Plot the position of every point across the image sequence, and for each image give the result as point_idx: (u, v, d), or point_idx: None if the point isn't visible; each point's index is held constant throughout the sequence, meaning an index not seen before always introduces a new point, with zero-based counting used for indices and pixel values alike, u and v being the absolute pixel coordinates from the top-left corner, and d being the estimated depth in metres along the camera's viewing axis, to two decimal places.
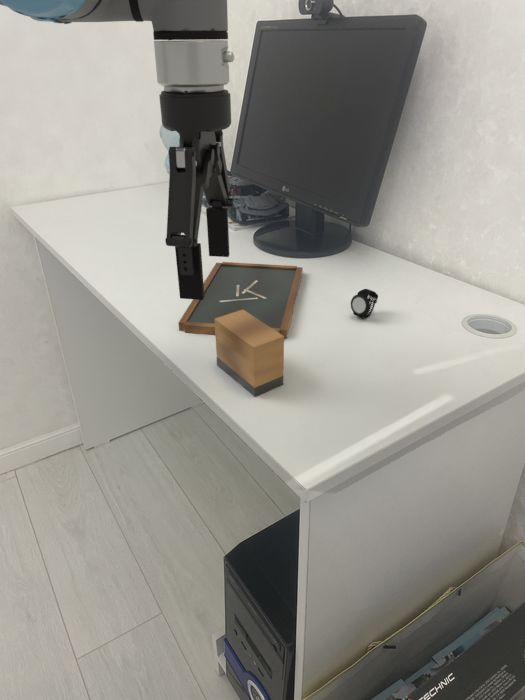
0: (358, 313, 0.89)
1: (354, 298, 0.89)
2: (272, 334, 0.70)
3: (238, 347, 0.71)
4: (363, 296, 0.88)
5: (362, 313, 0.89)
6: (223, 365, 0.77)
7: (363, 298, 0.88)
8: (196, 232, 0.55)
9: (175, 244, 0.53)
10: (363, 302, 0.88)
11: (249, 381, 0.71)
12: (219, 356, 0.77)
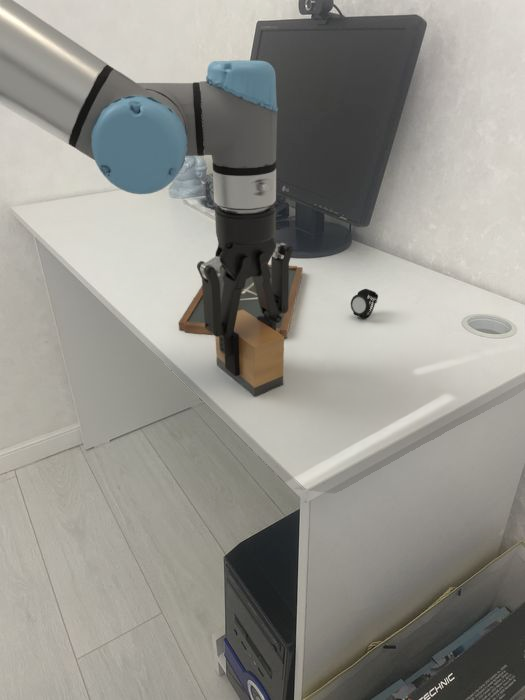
0: (358, 313, 0.89)
1: (354, 298, 0.89)
2: (272, 334, 0.70)
3: None
4: (363, 296, 0.88)
5: (362, 313, 0.89)
6: (223, 365, 0.77)
7: (363, 298, 0.88)
8: (230, 326, 0.68)
9: (208, 330, 0.68)
10: (363, 302, 0.88)
11: (249, 381, 0.71)
12: (219, 356, 0.77)
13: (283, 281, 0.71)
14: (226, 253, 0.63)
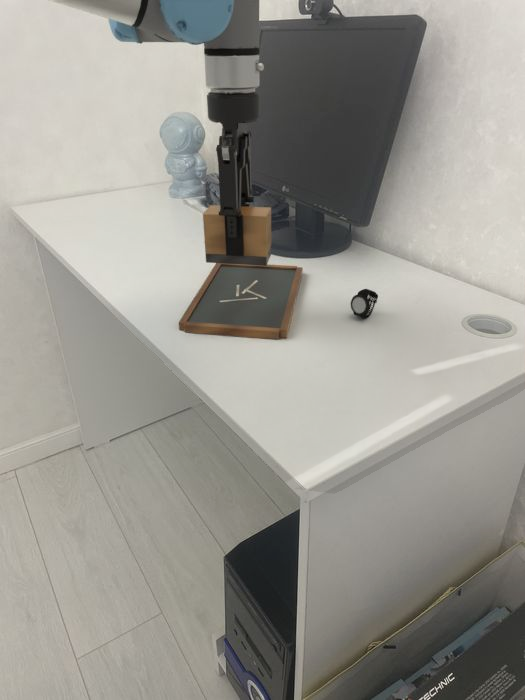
0: (358, 313, 0.89)
1: (354, 298, 0.89)
2: (262, 208, 0.82)
3: None
4: (363, 296, 0.88)
5: (362, 313, 0.89)
6: (217, 257, 0.83)
7: (363, 298, 0.88)
8: (239, 205, 0.77)
9: (226, 213, 0.76)
10: (363, 302, 0.88)
11: (258, 254, 0.82)
12: (210, 251, 0.83)
13: (249, 164, 0.82)
14: (236, 133, 0.72)
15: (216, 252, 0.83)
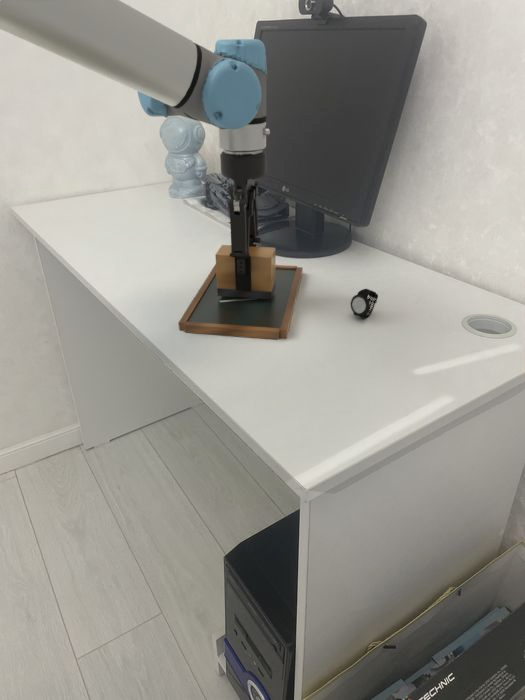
0: (358, 313, 0.89)
1: (354, 298, 0.89)
2: (267, 249, 0.93)
3: None
4: (363, 296, 0.88)
5: (362, 313, 0.89)
6: (227, 291, 0.94)
7: (363, 298, 0.88)
8: (248, 248, 0.88)
9: (237, 256, 0.86)
10: (363, 302, 0.88)
11: (264, 289, 0.93)
12: (221, 286, 0.94)
13: (256, 209, 0.93)
14: (245, 188, 0.83)
15: (227, 287, 0.94)
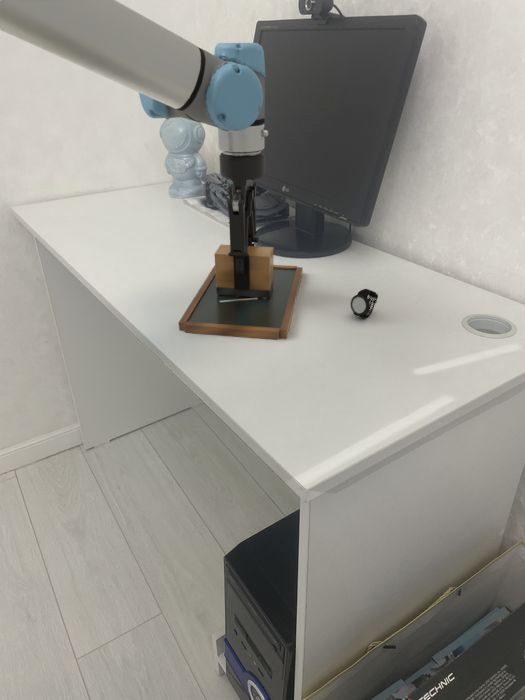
0: (358, 313, 0.89)
1: (354, 298, 0.89)
2: (265, 248, 0.94)
3: None
4: (363, 296, 0.88)
5: (362, 313, 0.89)
6: (226, 290, 0.96)
7: (363, 298, 0.88)
8: (246, 247, 0.90)
9: (235, 255, 0.88)
10: (363, 302, 0.88)
11: (262, 288, 0.94)
12: (220, 285, 0.95)
13: (255, 210, 0.95)
14: (244, 188, 0.84)
15: (225, 286, 0.95)
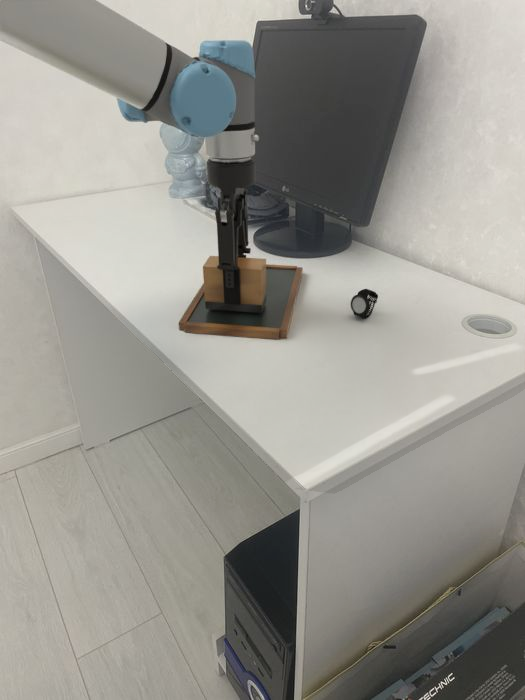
0: (358, 313, 0.89)
1: (354, 298, 0.89)
2: (257, 260, 0.88)
3: None
4: (363, 296, 0.88)
5: (362, 313, 0.89)
6: (216, 304, 0.90)
7: (363, 298, 0.88)
8: (236, 260, 0.84)
9: (224, 268, 0.82)
10: (363, 302, 0.88)
11: (254, 302, 0.88)
12: (209, 299, 0.89)
13: (246, 219, 0.89)
14: (233, 197, 0.78)
15: (215, 300, 0.89)
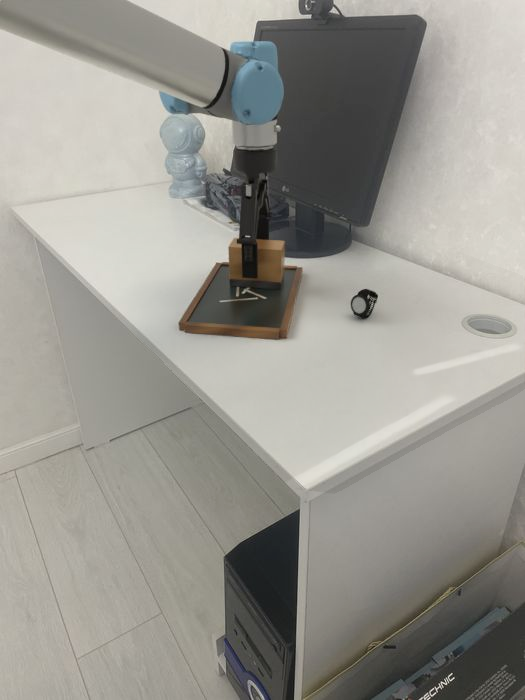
0: (358, 313, 0.89)
1: (354, 298, 0.89)
2: (277, 242, 0.98)
3: (261, 258, 0.96)
4: (363, 296, 0.88)
5: (362, 313, 0.89)
6: (239, 282, 0.99)
7: (363, 298, 0.88)
8: (255, 235, 0.89)
9: (244, 242, 0.87)
10: (363, 302, 0.88)
11: (274, 280, 0.98)
12: (233, 277, 0.99)
13: (268, 192, 0.99)
14: (257, 180, 0.88)
15: (238, 278, 0.99)
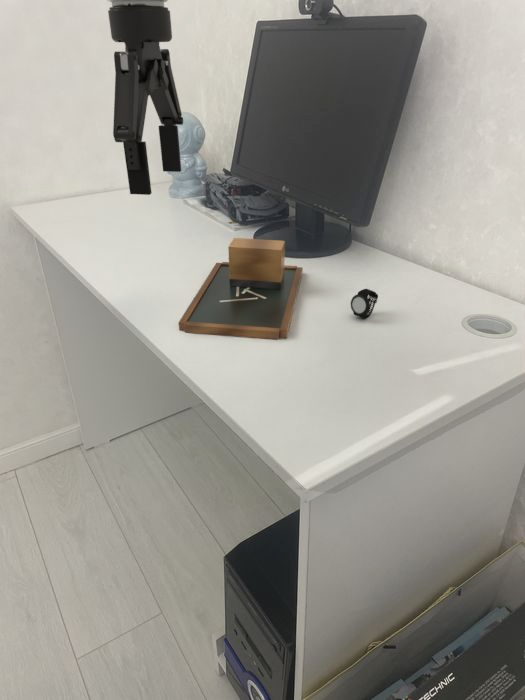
0: (358, 313, 0.89)
1: (354, 298, 0.89)
2: (277, 242, 0.98)
3: (261, 258, 0.96)
4: (363, 296, 0.88)
5: (362, 313, 0.89)
6: (239, 282, 0.99)
7: (363, 298, 0.88)
8: (140, 130, 0.64)
9: (121, 137, 0.62)
10: (363, 302, 0.88)
11: (274, 280, 0.98)
12: (233, 277, 0.99)
13: (173, 87, 0.75)
14: (141, 52, 0.63)
15: (238, 278, 0.99)
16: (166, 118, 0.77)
